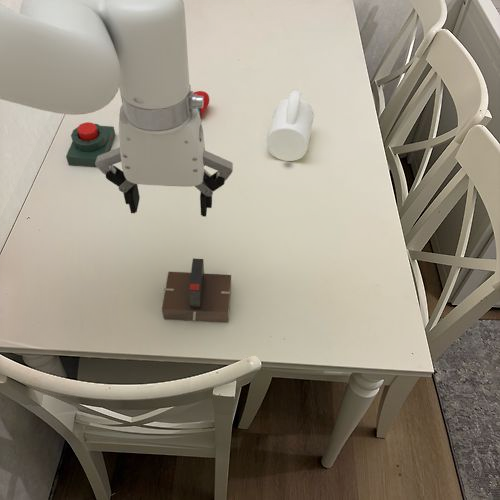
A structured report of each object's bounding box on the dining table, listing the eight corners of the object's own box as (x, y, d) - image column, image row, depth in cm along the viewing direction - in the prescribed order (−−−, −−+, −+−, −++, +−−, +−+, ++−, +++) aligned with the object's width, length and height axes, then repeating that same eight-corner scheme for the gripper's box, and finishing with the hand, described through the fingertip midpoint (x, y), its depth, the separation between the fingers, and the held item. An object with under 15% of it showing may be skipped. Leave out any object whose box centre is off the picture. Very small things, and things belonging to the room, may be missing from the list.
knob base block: (161, 328, 74) (159, 318, 72) (170, 273, 80) (169, 262, 78) (228, 331, 74) (228, 321, 72) (232, 277, 80) (232, 266, 78)
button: (95, 141, 94) (93, 134, 93) (77, 140, 94) (75, 133, 93) (100, 130, 96) (98, 122, 95) (82, 128, 96) (80, 121, 95)
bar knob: (194, 275, 77) (192, 257, 73) (204, 275, 77) (203, 257, 73) (190, 307, 73) (188, 290, 69) (200, 308, 73) (199, 291, 69)
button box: (104, 167, 95) (100, 151, 92) (68, 165, 95) (63, 149, 92) (115, 135, 101) (112, 119, 98) (82, 132, 101) (77, 116, 98)
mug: (264, 158, 99) (269, 108, 89) (273, 126, 105) (277, 77, 96) (304, 164, 98) (313, 115, 89) (310, 132, 104) (319, 83, 95)
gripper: (235, 87, 57) (233, 191, 70) (87, 80, 56) (113, 185, 70) (232, 128, 52) (230, 230, 66) (70, 120, 52) (102, 225, 65)
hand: (170, 207), depth 68 cm, fingers open, 9 cm apart
